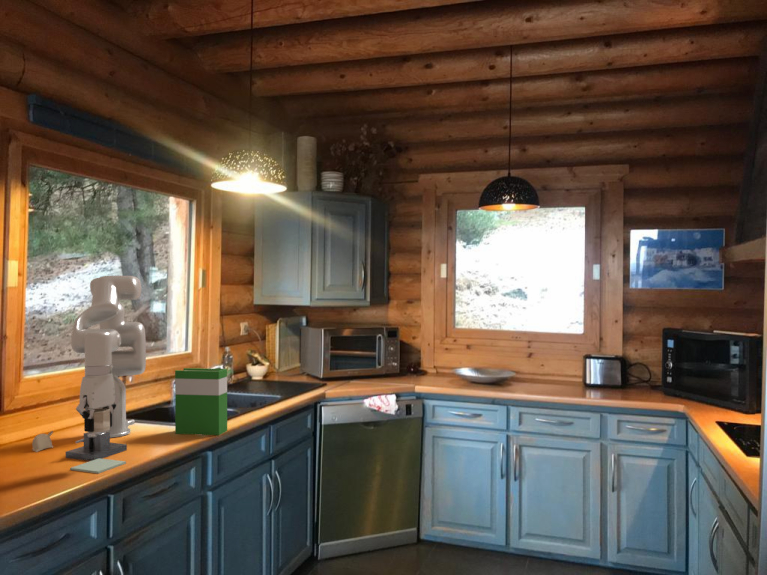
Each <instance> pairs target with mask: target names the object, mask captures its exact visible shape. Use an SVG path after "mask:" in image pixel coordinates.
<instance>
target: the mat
mask: <svg viewBox="0 0 767 575" xmlns="http://www.w3.org/2000/svg"><path fill="white" fill-rule="evenodd" d="M126 464H127V461H123V460H116V459H106V458H102V459H101V458H98V459H95V460H92V461H86V462H84V463H81V464H78V465H75V466H71V467H69V470H70V471H77V472H84V473H92V474H101V473H104V472H107V471H110V470H112V469H115V468H117V467H121V466H122V465H126Z"/></svg>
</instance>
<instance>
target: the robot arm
mask: <svg viewBox="0 0 767 575" xmlns="http://www.w3.org/2000/svg"><path fill="white" fill-rule="evenodd" d="M89 287H90V292H91V295H92V299H91V304H90V305H91V306H89V307H88V308H86V309H85V310H83V312H82V313H80V314H79V315H78V316H77V318H76V319H75V320H74V323H73V326H72V331H71V336H70V337H71V338H70V346H71V349H72V351H74V352H76V353H77V354H78V353H79V354H84V376H82V378H81V383H80V390H79V403H78V405H77V406H76V408H75V410H76V411H77V412H78V413H79V415H80V416H81V417H82V419H84V421H83V422H84V425H83V426H84V428H83V429H84V433H87V432H93V431H94V419H92V417H93V414H94V411H95V409H100V408H106V409H110V430H107V431H105V432H110V439H111V438H119V437H124V436H127V435H129V434H130V433H131V428H129V427H130V426H133V425H135V423H136V421H135V419H129V420H128V419H127V409H126V408H127V406H126V405H127V388H126V385H125V383H124V382H123V381H122V379H121V378H119V377H121V376H122V377H123V376H136V375H139V376H140V375H142V374H143V373H144V372H146V371H145V370H146V366H147V359H146V358H147V355H146V354H147V353H146V352H147V348H146V347H147V346H146V344H147V343H146V342H147V341H146V339H147V338H146V329H145V326H144V324H143V323H141V322H140V321H125V308H124V307H123V305H122V304H121V303H120V301H134V300H135V301H136V300H138V299H140V297H141V294H142V282H141V280H140V278H138V277H137V276H134V275H102V276H100V277H95V278H93V279H92V280H90V283H89ZM96 325H99V328H91V327H93V326H96ZM129 347H130V348H132V350H131V349H130V350H128V349H126V350H118V349H119V348H129ZM89 411H90V412H89ZM88 412H89V413H88Z"/></svg>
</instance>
